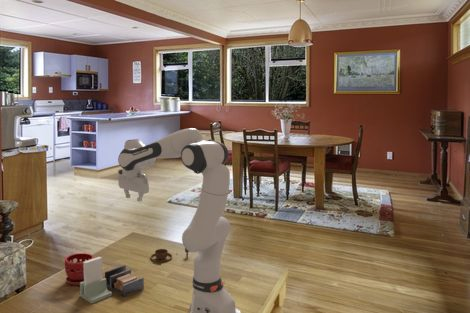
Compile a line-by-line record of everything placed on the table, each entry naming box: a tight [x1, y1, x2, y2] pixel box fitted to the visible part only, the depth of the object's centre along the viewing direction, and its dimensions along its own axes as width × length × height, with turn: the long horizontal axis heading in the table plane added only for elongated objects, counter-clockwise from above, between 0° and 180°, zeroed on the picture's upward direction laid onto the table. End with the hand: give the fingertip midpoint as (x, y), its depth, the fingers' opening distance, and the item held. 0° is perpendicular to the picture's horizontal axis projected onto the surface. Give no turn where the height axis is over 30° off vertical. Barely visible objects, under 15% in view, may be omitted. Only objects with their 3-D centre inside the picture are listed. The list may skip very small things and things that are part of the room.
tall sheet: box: [83, 256, 104, 294], centre depth 178 cm, size 2×8×15 cm, turn 141°
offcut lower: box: [114, 282, 122, 291], centre depth 185 cm, size 7×9×2 cm
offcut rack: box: [104, 264, 145, 298], centre depth 186 cm, size 15×11×8 cm
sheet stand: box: [79, 277, 113, 304], centre depth 178 cm, size 10×10×6 cm
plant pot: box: [64, 252, 95, 286], centre depth 192 cm, size 13×13×12 cm
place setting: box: [150, 247, 190, 266], centre depth 221 cm, size 18×20×6 cm
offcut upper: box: [117, 273, 138, 285], centre depth 185 cm, size 6×7×2 cm
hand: (133, 199), depth 195 cm, fingers open, 8 cm apart
